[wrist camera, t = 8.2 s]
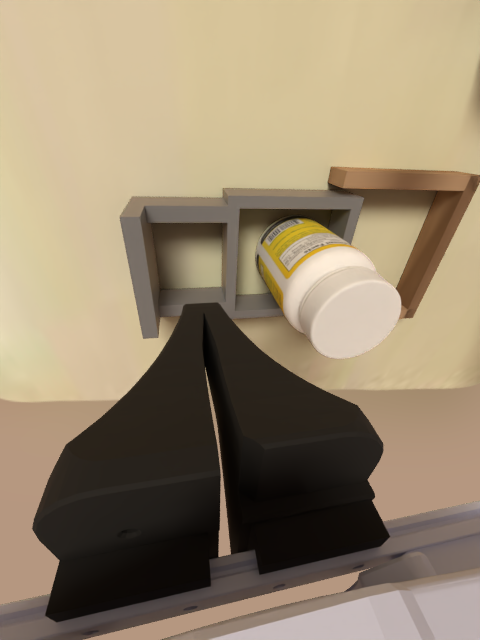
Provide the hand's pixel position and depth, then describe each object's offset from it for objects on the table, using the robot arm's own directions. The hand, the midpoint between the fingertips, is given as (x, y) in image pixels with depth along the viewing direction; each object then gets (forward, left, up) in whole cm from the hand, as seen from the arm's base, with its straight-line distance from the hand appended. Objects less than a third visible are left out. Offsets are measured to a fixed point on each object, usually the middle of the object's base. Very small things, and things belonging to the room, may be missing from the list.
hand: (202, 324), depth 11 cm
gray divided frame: (-3, 0, -7) cm, 8 cm away
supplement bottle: (-6, 0, -8) cm, 10 cm away
